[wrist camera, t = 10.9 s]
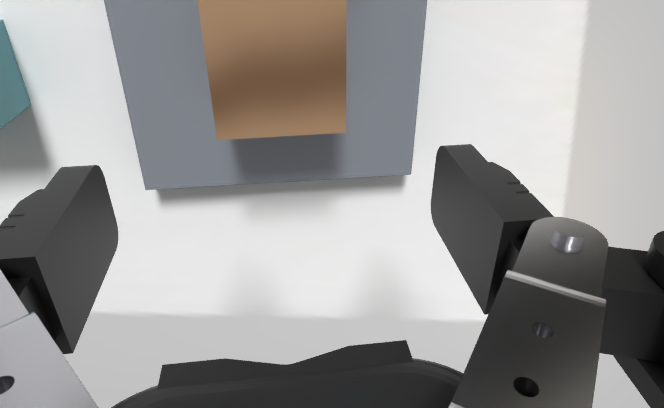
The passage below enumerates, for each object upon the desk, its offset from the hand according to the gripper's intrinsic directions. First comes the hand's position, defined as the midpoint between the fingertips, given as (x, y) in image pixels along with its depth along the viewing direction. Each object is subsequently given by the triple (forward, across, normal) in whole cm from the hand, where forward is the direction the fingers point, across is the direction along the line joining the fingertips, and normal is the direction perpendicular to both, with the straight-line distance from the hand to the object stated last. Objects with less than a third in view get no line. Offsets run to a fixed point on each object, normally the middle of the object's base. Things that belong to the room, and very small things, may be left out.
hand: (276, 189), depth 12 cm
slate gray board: (+18, 0, 0) cm, 18 cm away
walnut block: (+16, 0, 0) cm, 16 cm away
